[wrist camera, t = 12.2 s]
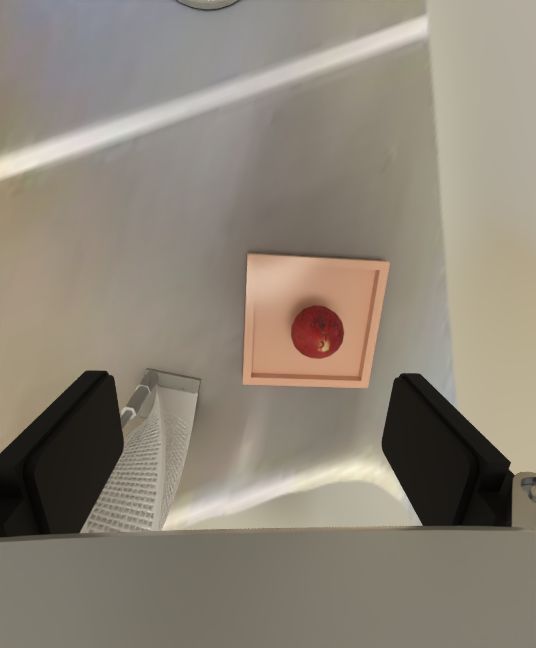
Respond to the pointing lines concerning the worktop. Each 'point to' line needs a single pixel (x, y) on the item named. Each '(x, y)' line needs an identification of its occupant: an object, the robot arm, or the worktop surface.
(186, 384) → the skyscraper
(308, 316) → the red round fruit
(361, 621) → the robot arm
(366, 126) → the worktop surface
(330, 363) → the dish
